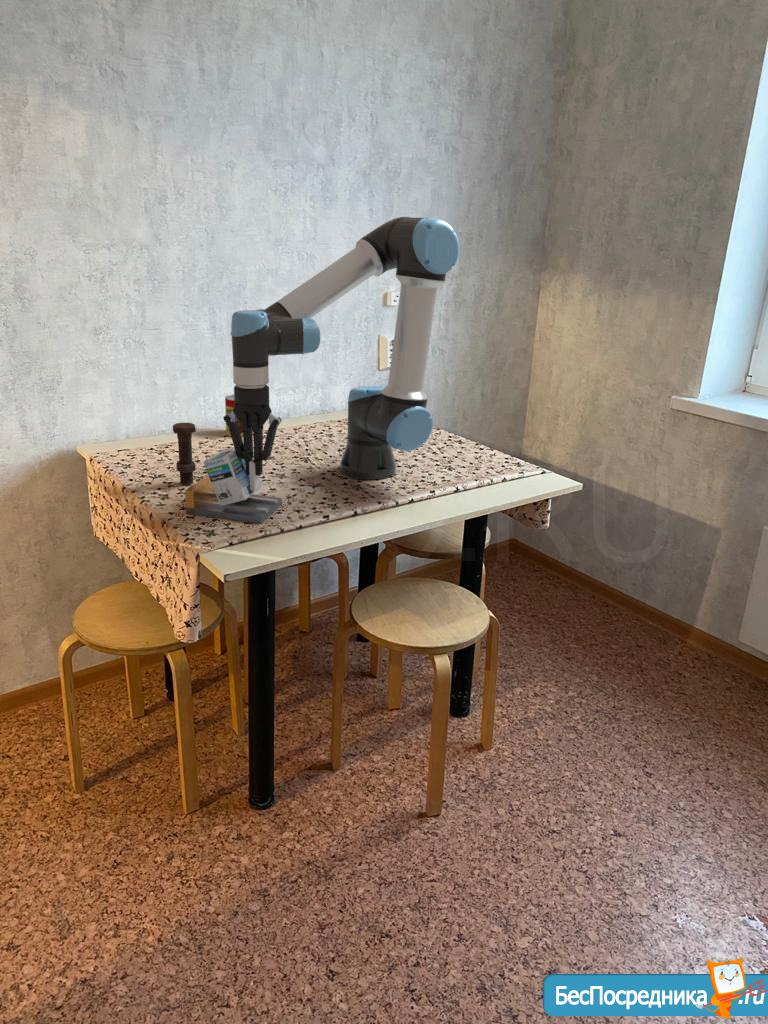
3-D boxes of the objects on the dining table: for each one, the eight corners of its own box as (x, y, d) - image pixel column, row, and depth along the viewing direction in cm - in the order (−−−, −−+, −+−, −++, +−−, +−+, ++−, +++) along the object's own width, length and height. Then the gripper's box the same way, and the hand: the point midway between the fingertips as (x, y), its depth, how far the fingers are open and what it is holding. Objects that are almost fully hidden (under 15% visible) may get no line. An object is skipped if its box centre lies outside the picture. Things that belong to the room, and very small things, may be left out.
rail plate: (281, 504, 182) (281, 482, 180) (261, 523, 170) (261, 500, 168) (210, 495, 185) (210, 473, 183) (186, 513, 173) (185, 490, 171)
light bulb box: (245, 500, 170) (228, 454, 167) (219, 507, 172) (201, 462, 169) (263, 485, 180) (247, 442, 177) (238, 492, 182) (222, 449, 179)
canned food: (250, 440, 230) (249, 400, 226) (223, 438, 230) (222, 399, 226) (254, 433, 238) (254, 394, 233) (229, 431, 238) (228, 393, 233)
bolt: (183, 488, 188) (180, 429, 183) (170, 483, 191) (167, 425, 186) (202, 483, 193) (200, 425, 187) (189, 478, 196) (187, 421, 190)
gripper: (285, 383, 168) (286, 486, 177) (230, 379, 171) (235, 480, 179) (273, 390, 161) (275, 496, 170) (216, 386, 164) (221, 490, 172)
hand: (254, 488), depth 174 cm, fingers closed
